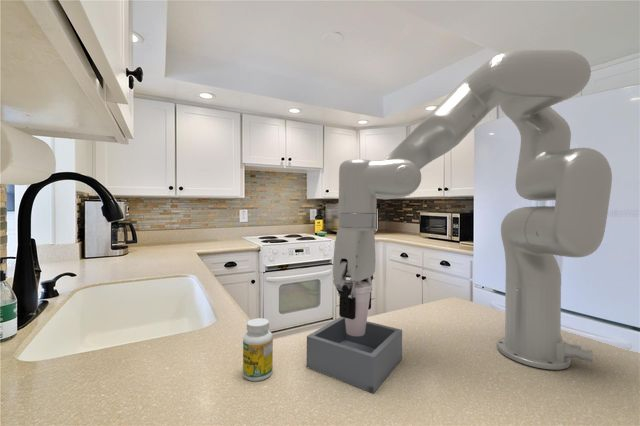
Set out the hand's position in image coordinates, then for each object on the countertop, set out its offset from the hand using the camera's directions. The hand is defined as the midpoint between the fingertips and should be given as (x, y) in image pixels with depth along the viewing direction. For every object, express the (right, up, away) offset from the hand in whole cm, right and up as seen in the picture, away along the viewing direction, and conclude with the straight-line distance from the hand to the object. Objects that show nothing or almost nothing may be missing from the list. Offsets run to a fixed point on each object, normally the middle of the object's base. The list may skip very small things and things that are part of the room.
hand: (355, 311), depth 57 cm
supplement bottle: (-19, -10, -4) cm, 22 cm away
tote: (0, -10, 0) cm, 10 cm away
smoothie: (0, -4, 0) cm, 4 cm away
